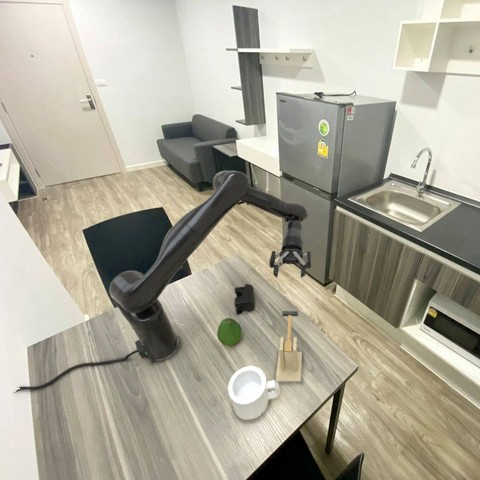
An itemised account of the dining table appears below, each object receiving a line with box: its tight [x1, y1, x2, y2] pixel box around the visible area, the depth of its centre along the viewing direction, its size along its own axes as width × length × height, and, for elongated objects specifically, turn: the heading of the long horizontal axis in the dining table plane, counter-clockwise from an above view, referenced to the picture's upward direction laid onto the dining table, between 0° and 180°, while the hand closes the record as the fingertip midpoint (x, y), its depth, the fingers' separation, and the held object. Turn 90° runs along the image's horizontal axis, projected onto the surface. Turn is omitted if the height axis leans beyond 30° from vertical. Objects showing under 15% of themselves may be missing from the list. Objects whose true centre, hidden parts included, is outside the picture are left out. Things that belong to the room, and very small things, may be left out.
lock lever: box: [281, 310, 299, 352], centre depth 83 cm, size 12×5×2 cm, turn 2°
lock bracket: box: [274, 336, 303, 382], centre depth 83 cm, size 10×8×14 cm
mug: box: [227, 365, 281, 421], centre depth 76 cm, size 14×10×11 cm
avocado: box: [216, 317, 243, 347], centre depth 91 cm, size 8×8×12 cm
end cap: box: [234, 283, 255, 315], centre depth 106 cm, size 10×7×7 cm
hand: (289, 275), depth 87 cm, fingers open, 8 cm apart
